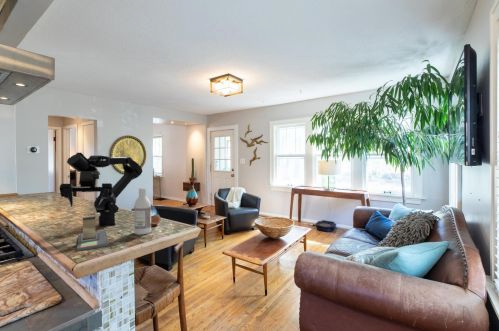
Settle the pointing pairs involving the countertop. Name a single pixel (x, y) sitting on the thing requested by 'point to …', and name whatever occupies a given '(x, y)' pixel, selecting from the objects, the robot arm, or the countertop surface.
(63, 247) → the countertop surface
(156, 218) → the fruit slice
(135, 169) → the robot arm
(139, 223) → the bath foam
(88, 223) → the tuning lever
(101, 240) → the base
